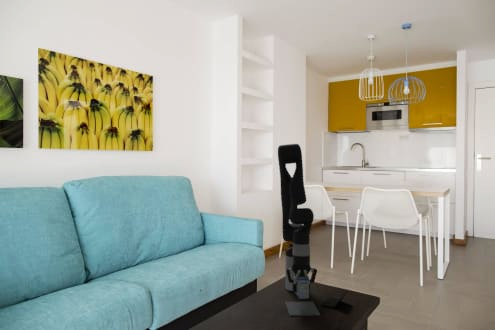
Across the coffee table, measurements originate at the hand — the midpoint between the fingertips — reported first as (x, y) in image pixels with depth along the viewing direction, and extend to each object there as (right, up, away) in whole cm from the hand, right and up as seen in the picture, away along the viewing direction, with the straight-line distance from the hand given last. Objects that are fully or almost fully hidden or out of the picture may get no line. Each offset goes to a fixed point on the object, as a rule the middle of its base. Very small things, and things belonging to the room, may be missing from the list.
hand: (301, 291), depth 159 cm
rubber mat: (0, -8, 0) cm, 8 cm away
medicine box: (0, -2, 0) cm, 2 cm away
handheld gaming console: (+16, -8, +6) cm, 19 cm away
